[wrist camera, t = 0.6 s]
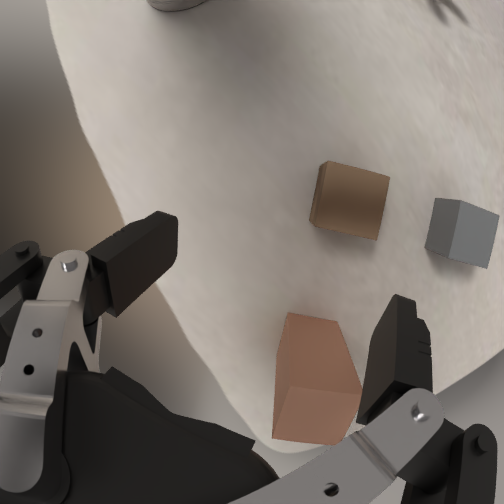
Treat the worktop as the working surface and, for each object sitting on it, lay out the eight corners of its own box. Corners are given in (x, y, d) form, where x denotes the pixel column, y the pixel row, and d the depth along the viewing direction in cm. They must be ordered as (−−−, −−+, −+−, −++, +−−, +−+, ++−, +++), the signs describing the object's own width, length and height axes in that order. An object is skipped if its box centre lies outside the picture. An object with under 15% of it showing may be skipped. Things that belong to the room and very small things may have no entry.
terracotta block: (287, 312, 29) (289, 385, 17) (337, 321, 29) (364, 395, 17) (276, 356, 30) (271, 438, 18) (323, 364, 30) (339, 445, 18)
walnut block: (319, 165, 26) (327, 160, 21) (371, 178, 26) (390, 176, 21) (308, 220, 27) (314, 226, 22) (360, 231, 27) (376, 240, 22)
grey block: (434, 197, 26) (460, 200, 21) (471, 210, 25) (499, 215, 20) (424, 247, 27) (448, 258, 22) (461, 257, 26) (487, 268, 22)
